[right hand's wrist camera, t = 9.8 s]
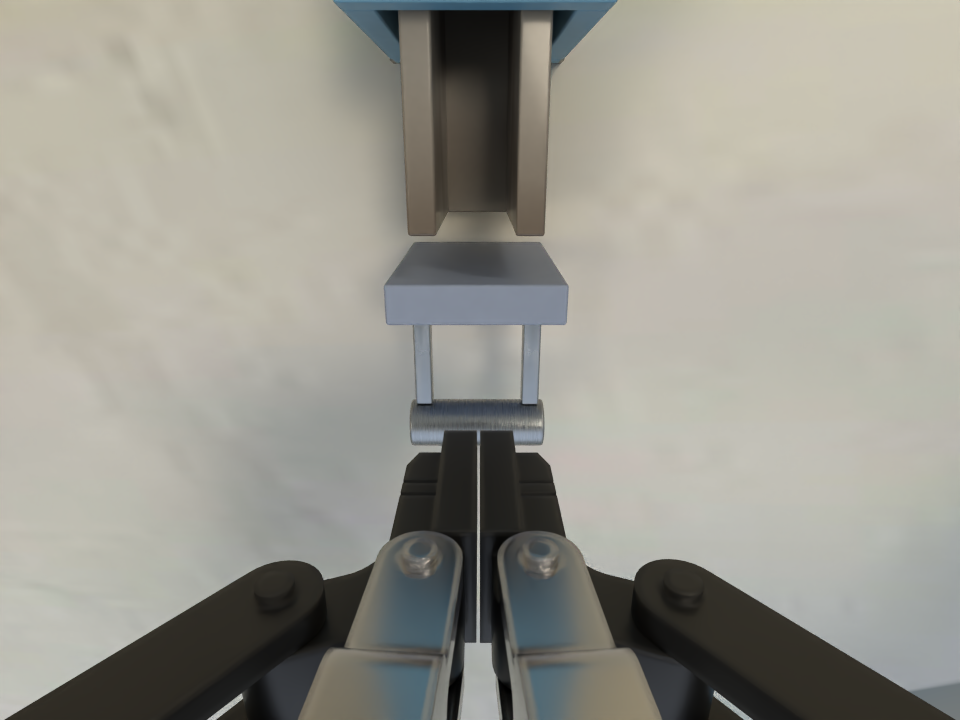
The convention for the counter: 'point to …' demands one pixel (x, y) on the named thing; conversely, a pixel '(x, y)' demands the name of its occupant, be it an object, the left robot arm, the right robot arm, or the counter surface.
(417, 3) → the cabinet
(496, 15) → the drawer
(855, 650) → the counter surface
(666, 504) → the counter surface
